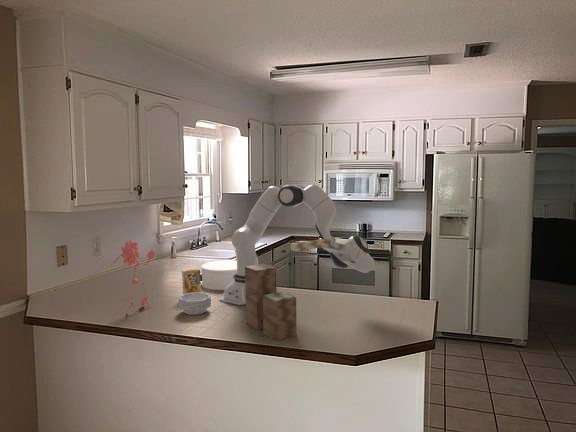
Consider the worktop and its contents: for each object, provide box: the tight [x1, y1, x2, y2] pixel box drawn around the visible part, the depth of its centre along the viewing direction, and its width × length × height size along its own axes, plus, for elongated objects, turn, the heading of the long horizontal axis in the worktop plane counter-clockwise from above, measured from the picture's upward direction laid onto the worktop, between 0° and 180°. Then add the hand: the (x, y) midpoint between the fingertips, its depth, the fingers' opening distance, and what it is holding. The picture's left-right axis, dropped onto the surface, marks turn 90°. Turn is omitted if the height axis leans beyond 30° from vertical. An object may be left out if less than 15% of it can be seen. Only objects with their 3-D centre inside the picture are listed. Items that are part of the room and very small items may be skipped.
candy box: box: [181, 268, 202, 295], centre depth 252 cm, size 9×4×15 cm, turn 119°
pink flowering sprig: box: [110, 239, 160, 315], centre depth 232 cm, size 15×26×35 cm, turn 156°
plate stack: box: [200, 259, 237, 291], centre depth 282 cm, size 28×28×12 cm
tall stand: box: [245, 263, 277, 331], centre depth 209 cm, size 10×10×26 cm
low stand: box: [263, 291, 298, 341], centre depth 197 cm, size 10×10×17 cm
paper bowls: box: [178, 292, 212, 316], centre depth 229 cm, size 15×15×8 cm
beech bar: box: [290, 237, 337, 252], centre depth 204 cm, size 22×3×3 cm, turn 124°
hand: (326, 241), depth 208 cm, fingers closed on beech bar, 3 cm apart
